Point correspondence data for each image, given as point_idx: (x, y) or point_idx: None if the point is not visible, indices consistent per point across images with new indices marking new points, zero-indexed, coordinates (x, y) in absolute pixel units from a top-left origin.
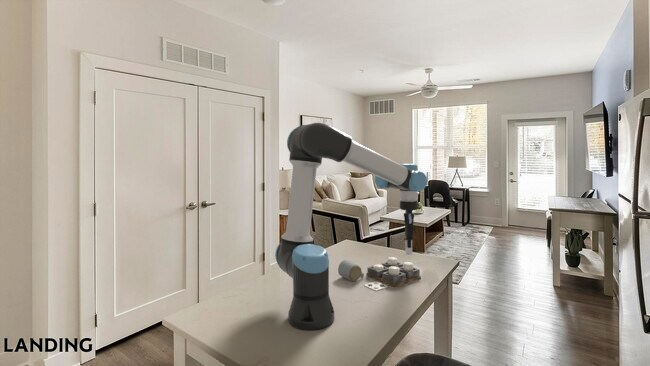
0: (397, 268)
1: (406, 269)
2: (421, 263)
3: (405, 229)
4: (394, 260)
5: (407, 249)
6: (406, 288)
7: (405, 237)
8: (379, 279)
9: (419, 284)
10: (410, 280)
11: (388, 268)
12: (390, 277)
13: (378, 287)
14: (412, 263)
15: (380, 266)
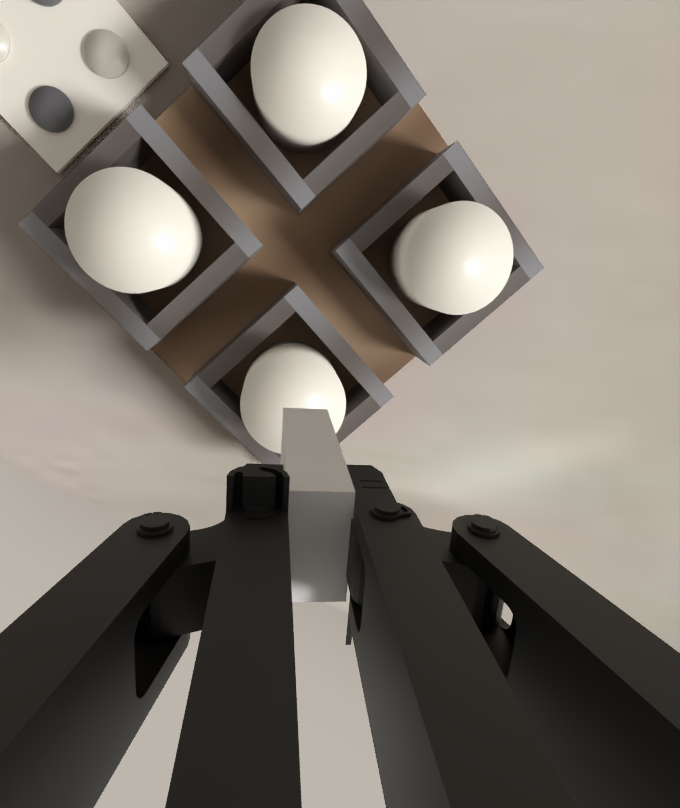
0: (121, 269)
1: (248, 372)
2: (605, 518)
3: (540, 611)
4: (407, 276)
5: (282, 452)
6: (53, 326)
7: (373, 506)
8: (181, 98)
9: (157, 438)
10: (186, 381)
11: (291, 195)
12: (63, 186)
13: (4, 66)
14: None
15: (295, 96)
